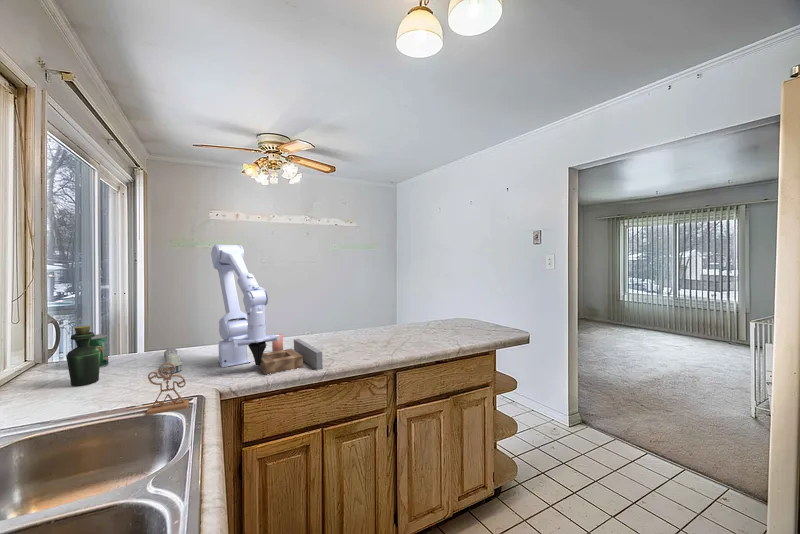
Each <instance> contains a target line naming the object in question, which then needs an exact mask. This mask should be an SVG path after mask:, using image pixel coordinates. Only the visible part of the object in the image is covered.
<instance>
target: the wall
mask: <svg viewBox="0 0 800 534" xmlns="http://www.w3.org/2000/svg"><path fill="white" fill-rule="evenodd" d="M293 350H294V351H296V352H297V353H299V354H300V355H302V356H303V362H305V363H306V364H308V365H309V366H311V367H312V368H313V369H315V370H316V371H320V370H323V351H322V350H320V349H318V348H316V347H314V346H313V345H311V344H309V343H307V342H305V341H303V340H302V339H300V338H294V339H293Z"/></svg>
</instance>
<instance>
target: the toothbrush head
mask: <svg viewBox="0 0 800 534" xmlns="http://www.w3.org/2000/svg"><path fill="white" fill-rule="evenodd" d="M163 358H165V359H166V363H171V364H173V365H174V366H175V372H174V373H178V372H180V371H182V369H183V368H182V365H183V362H182V361H181V359H180V355H179V353H178V350H177V349H176V348H174V347H167V348H166V349H165V351H163ZM169 367H171V368H173V366H171V365H168V364H167V365H163V368H166V369H168V368H169ZM171 371H172V372H171ZM173 371H174V369H171V370H170V371H168V370H165V373H170V372H171V373H170V374H172V373H173Z"/></svg>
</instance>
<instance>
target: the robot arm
mask: <svg viewBox="0 0 800 534" xmlns="http://www.w3.org/2000/svg"><path fill="white" fill-rule="evenodd" d="M210 255H211V262H212V265H213V268H214V269H215V270H217V273H218V278H219V283H220V288H221V294H222V299H223V305H224V310H225V314H224V315H223V316H221V318H220V319H219V321H218V324H219V325H218V326H219V329H218V333H219V336H220V338H221V339H222V340H219V341H218V363H219V365H220V366H221V368H227V367H233V366H237V365H243V364H250V363H251V360H250V359H249V358H248V348H249V350H250V352H251V354H252V356H253V361H254V364H255V366H257V365H260V363H261V358H262V355H263V353H265V349H266V348H267V343H269V342H270V343H271V342H272V341H279V335H278V334H279V333H275V334H276V335H275V334H267V333H266V332H267V331H266V327H267V326H266V306H267V304H268V302H269V295H268V292H267V290H266V289H265V288H263V287H262V286H260V285H259V283H258V281H257V280H256V278H255V276H254V274H253V273H251V272H250V273H249V271H248V268H247V266H246V265H247V264H246V262H245V260H244V257H245V250H244V247H243V246H242V245H241V244H219V243H218V244H217V243H216V244H213V246H212V248H211V253H210ZM234 272H235V274H236V275H237V277H238V278H237V282H236V281H235V276H234V275H235V274H234ZM236 283H237V284H238V286H239V288H240V291H241V293H242V295H243V297H242V302H243V305H244V311H245V312H244V311H241V307H240V302H239V295H238V291H237V285H236ZM249 362H250V363H249Z"/></svg>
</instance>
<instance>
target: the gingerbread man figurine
mask: <svg viewBox="0 0 800 534" xmlns="http://www.w3.org/2000/svg"><path fill="white" fill-rule="evenodd" d="M167 364H168V365H171V366H173V368H171V367H169V368H168V369H166V367H164V365H167ZM162 367H163V368H162ZM161 368H162V369H161ZM171 369H174V371H173V373H171V372H172V371H171V372H170V373H166V370H168V371H170V370H171ZM175 373H176V372H175V366H174V365H173V364H171V363H167V362H164V363H163V364H161V365H160V366H159V368H158V373H157V372H156V371H151V372H149V373H148V375H147V378H148V381H149V383H151V384H153V385H156V386H159V387H160V390H159V391H160V393H159V394H158V396H157V397H156V399H155V401H154V403H153V404H152V405H149V407H148V408H147V410H146V412H145V413H146V416H151V415H156V414H163V413H168V412H173V411H179V410H180V411H181V410H186V409H188V408H189V405H190V400H189V399H183V397H182V396H181V395H180V394H179V393H178V391H177V390H176V387H175V384H176V386H177V388H180V389H181V388H184V387H185V386H186V382H187V381H186V378H184V376H182V375H179V374H175ZM152 374H154V375H153V376H151V375H152ZM173 377H174V378H175V377H177V378H178V377H179V378H181V380H182V381H181V380H180V381H179V382H178V380H177V381H176V380H175V381H172V388H169V387H170V385H169V383H170V382H169V381H171V380H172V378H173ZM154 378H156V379H162V380H163V382H165V384H166V387H165V388H166V389H165V388H164V389H163V382H158V383H157V382H154V381H153V380H152V379H154ZM181 384H183V385H181ZM170 391H171V392H172V391H173V392H174V394H175V395H177V397H176V398H175V399H174V398H173V397H172V396H171V395H170V393H167V394H166V396H165V398H164V400H163V401H160V400H158V399H159V397H160V396H161V394H162V393H163V392H170ZM167 398H169V400H170V402H165V401H166V399H167Z"/></svg>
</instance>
